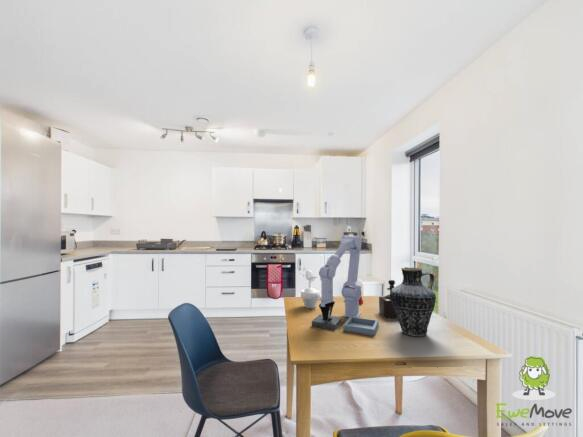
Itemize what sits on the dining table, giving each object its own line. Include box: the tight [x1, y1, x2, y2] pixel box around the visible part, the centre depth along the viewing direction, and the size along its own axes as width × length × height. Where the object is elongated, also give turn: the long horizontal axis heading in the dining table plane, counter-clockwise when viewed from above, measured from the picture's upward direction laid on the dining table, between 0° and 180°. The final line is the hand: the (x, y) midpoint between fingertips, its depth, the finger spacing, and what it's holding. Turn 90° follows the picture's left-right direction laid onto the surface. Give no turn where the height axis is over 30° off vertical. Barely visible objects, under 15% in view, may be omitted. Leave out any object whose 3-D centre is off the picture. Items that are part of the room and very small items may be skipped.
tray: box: [343, 316, 380, 337], centre depth 141 cm, size 14×14×3 cm
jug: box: [389, 266, 437, 337], centre depth 136 cm, size 21×19×30 cm
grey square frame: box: [311, 313, 343, 331], centre depth 147 cm, size 12×12×2 cm
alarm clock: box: [358, 296, 364, 306], centre depth 188 cm, size 10×6×15 cm
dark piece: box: [378, 279, 398, 319], centre depth 164 cm, size 16×11×18 cm
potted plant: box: [299, 268, 321, 309], centre depth 176 cm, size 13×12×25 cm
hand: (327, 317), depth 147 cm, fingers open, 5 cm apart
